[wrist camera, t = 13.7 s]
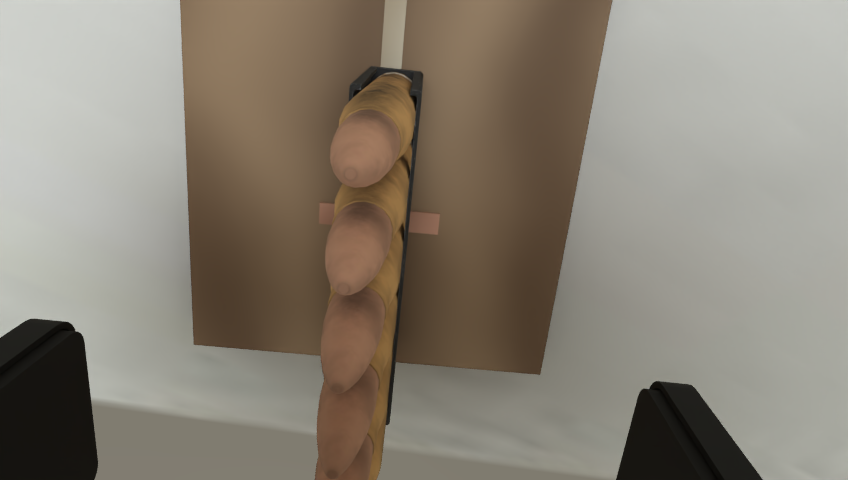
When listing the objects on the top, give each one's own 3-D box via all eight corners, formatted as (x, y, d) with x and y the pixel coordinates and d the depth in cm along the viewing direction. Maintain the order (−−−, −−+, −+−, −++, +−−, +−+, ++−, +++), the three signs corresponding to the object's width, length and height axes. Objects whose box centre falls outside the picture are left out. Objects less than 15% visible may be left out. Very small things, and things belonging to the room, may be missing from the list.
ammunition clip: (396, 349, 23) (367, 660, 11) (349, 345, 22) (273, 653, 11) (423, 71, 19) (422, 112, 8) (368, 65, 19) (286, 98, 8)
